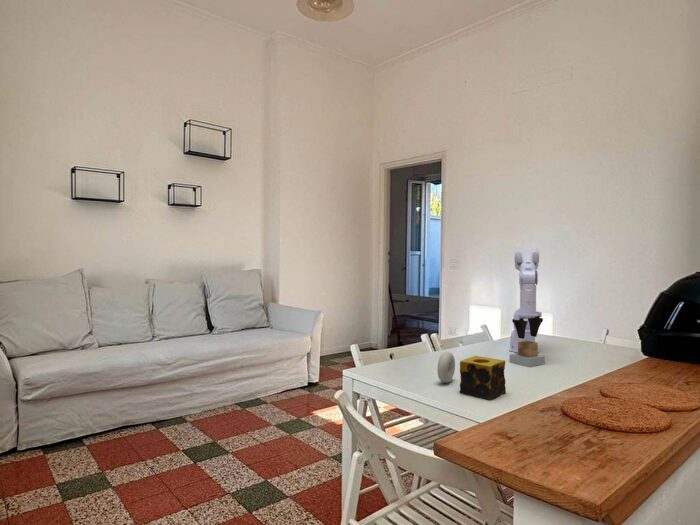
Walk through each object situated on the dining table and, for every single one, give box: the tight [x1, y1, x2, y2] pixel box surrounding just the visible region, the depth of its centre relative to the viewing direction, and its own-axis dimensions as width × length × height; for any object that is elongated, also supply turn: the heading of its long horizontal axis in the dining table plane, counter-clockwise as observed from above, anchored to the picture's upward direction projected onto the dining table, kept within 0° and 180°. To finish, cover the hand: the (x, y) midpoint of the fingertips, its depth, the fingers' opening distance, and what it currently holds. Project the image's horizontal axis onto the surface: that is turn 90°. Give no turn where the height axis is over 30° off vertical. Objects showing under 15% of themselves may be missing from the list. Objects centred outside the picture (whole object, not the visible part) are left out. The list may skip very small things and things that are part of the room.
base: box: [509, 352, 546, 368], centre depth 174 cm, size 9×9×3 cm
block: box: [518, 341, 539, 358], centre depth 174 cm, size 5×5×5 cm
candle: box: [459, 355, 507, 401], centre depth 137 cm, size 10×10×10 cm
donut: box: [436, 351, 456, 384], centre depth 148 cm, size 10×4×10 cm, turn 148°
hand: (527, 337), depth 174 cm, fingers open, 7 cm apart
